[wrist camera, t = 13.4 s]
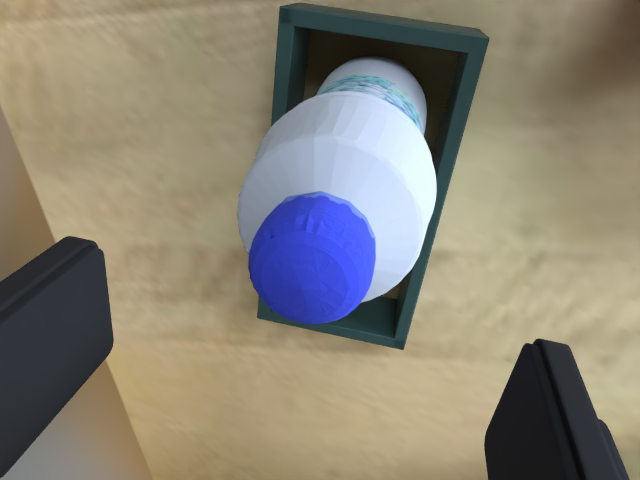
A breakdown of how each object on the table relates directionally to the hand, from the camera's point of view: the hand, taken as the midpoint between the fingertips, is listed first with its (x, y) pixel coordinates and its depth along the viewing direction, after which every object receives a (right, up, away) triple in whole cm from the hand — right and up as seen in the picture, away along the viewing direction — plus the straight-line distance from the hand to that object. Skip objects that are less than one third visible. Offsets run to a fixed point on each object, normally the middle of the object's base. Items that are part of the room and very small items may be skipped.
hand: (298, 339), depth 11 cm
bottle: (+4, +10, +19) cm, 22 cm away
